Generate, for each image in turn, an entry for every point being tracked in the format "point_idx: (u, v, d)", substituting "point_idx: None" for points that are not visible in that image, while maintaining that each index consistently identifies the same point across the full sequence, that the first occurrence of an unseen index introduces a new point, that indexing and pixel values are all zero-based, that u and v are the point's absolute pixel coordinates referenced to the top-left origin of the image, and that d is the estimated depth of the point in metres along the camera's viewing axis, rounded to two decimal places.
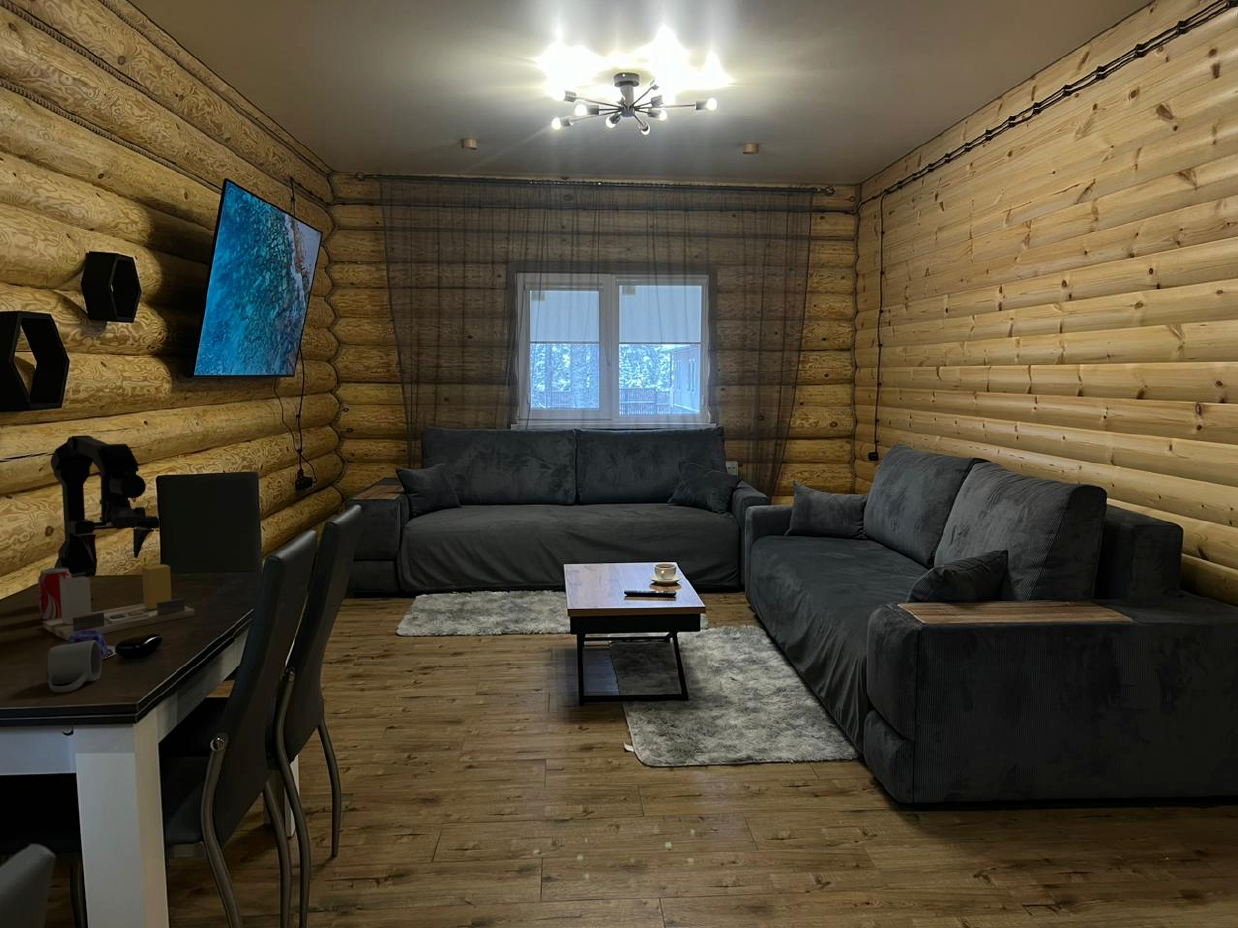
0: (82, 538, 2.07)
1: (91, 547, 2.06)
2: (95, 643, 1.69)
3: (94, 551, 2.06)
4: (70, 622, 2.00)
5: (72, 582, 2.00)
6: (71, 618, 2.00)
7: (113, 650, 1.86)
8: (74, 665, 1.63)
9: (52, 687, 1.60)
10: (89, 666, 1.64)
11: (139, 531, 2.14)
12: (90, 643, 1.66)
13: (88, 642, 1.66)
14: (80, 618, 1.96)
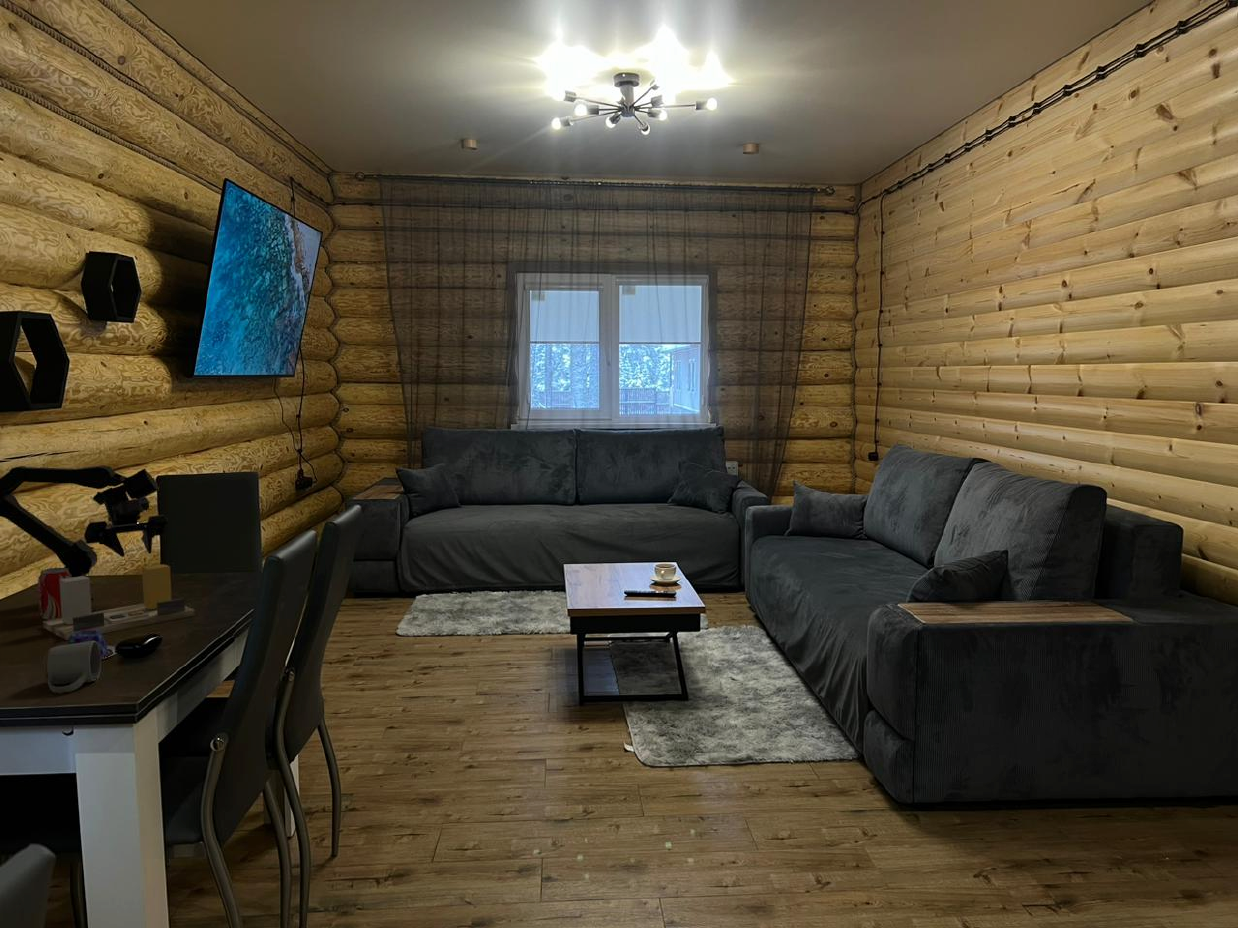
0: (107, 544, 2.23)
1: (116, 542, 2.21)
2: (95, 643, 1.69)
3: (119, 545, 2.21)
4: (70, 622, 2.00)
5: (72, 582, 2.00)
6: (71, 618, 2.00)
7: (113, 650, 1.86)
8: (74, 665, 1.63)
9: (52, 687, 1.60)
10: (89, 667, 1.64)
11: (145, 529, 2.28)
12: (90, 643, 1.66)
13: (88, 643, 1.66)
14: (80, 618, 1.96)
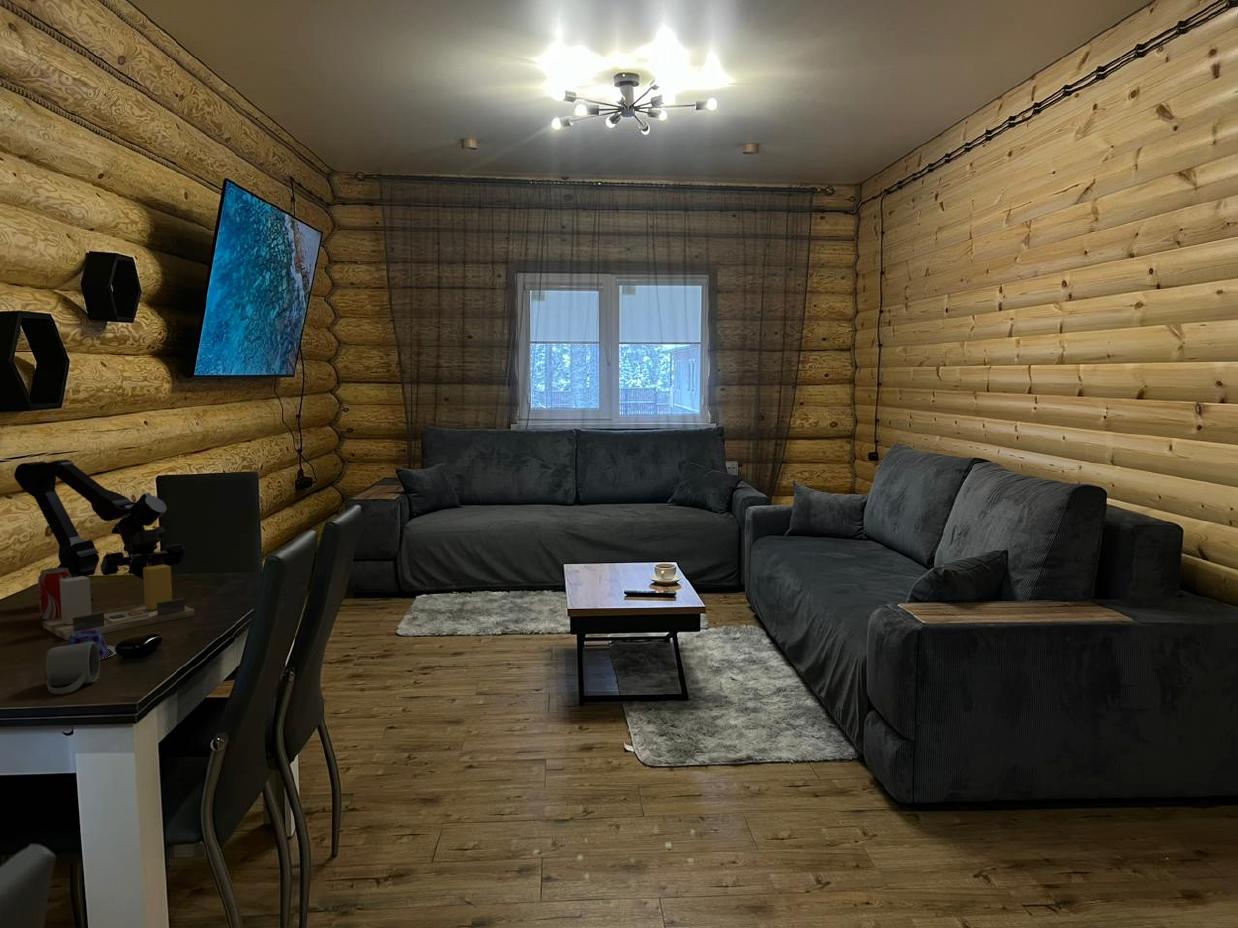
0: (136, 573, 2.19)
1: None
2: (94, 644, 1.68)
3: None
4: (70, 622, 2.00)
5: (72, 582, 2.00)
6: (71, 618, 2.00)
7: (113, 650, 1.86)
8: (72, 666, 1.62)
9: (50, 689, 1.59)
10: (88, 668, 1.63)
11: (150, 561, 2.20)
12: (89, 644, 1.65)
13: (87, 643, 1.66)
14: (80, 618, 1.96)
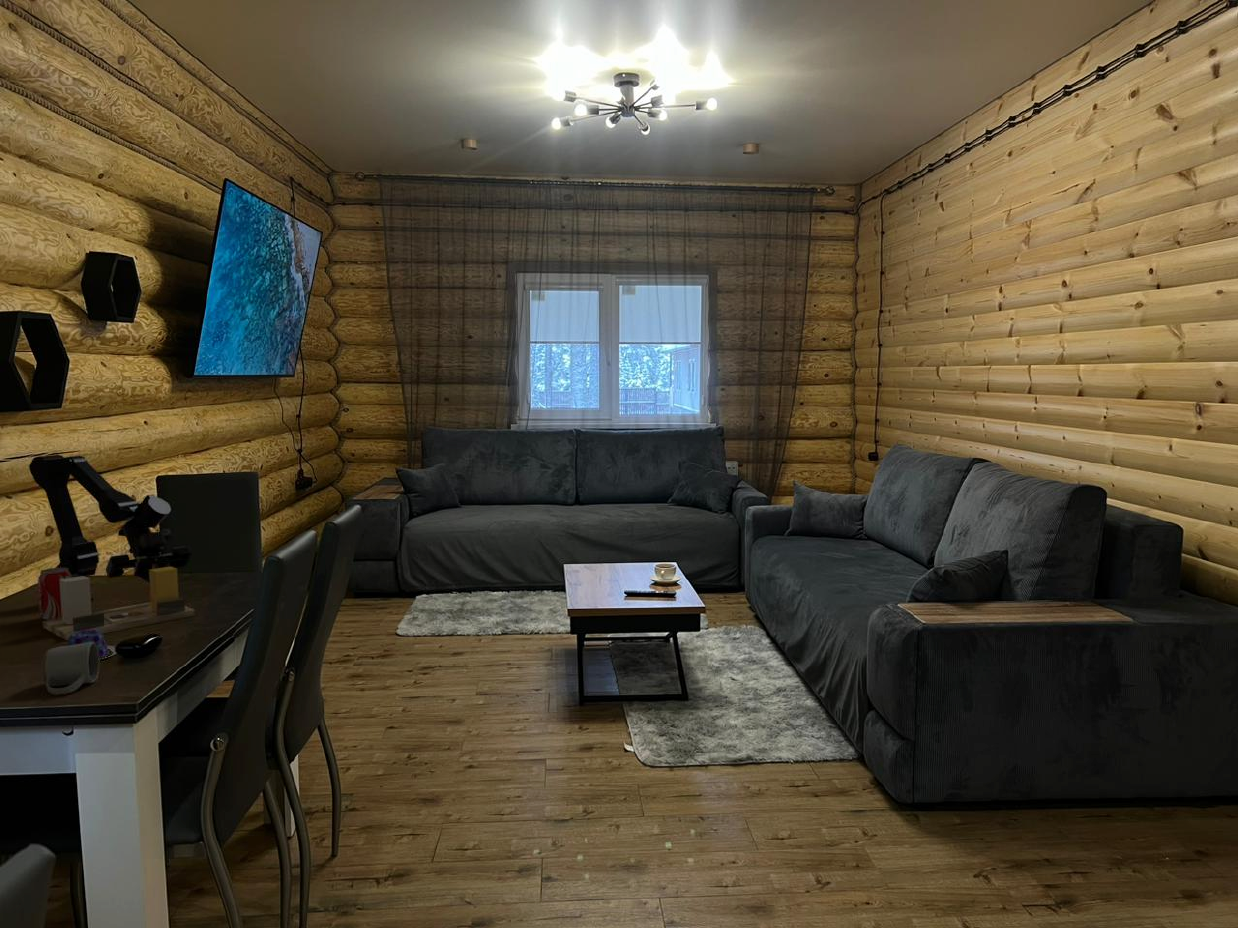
0: (142, 576, 2.17)
1: None
2: (93, 645, 1.68)
3: None
4: (70, 622, 2.00)
5: (72, 582, 2.00)
6: (71, 618, 2.00)
7: (113, 650, 1.86)
8: (72, 667, 1.62)
9: (50, 689, 1.59)
10: (87, 668, 1.63)
11: (156, 564, 2.18)
12: (88, 645, 1.65)
13: (86, 644, 1.65)
14: (80, 618, 1.96)
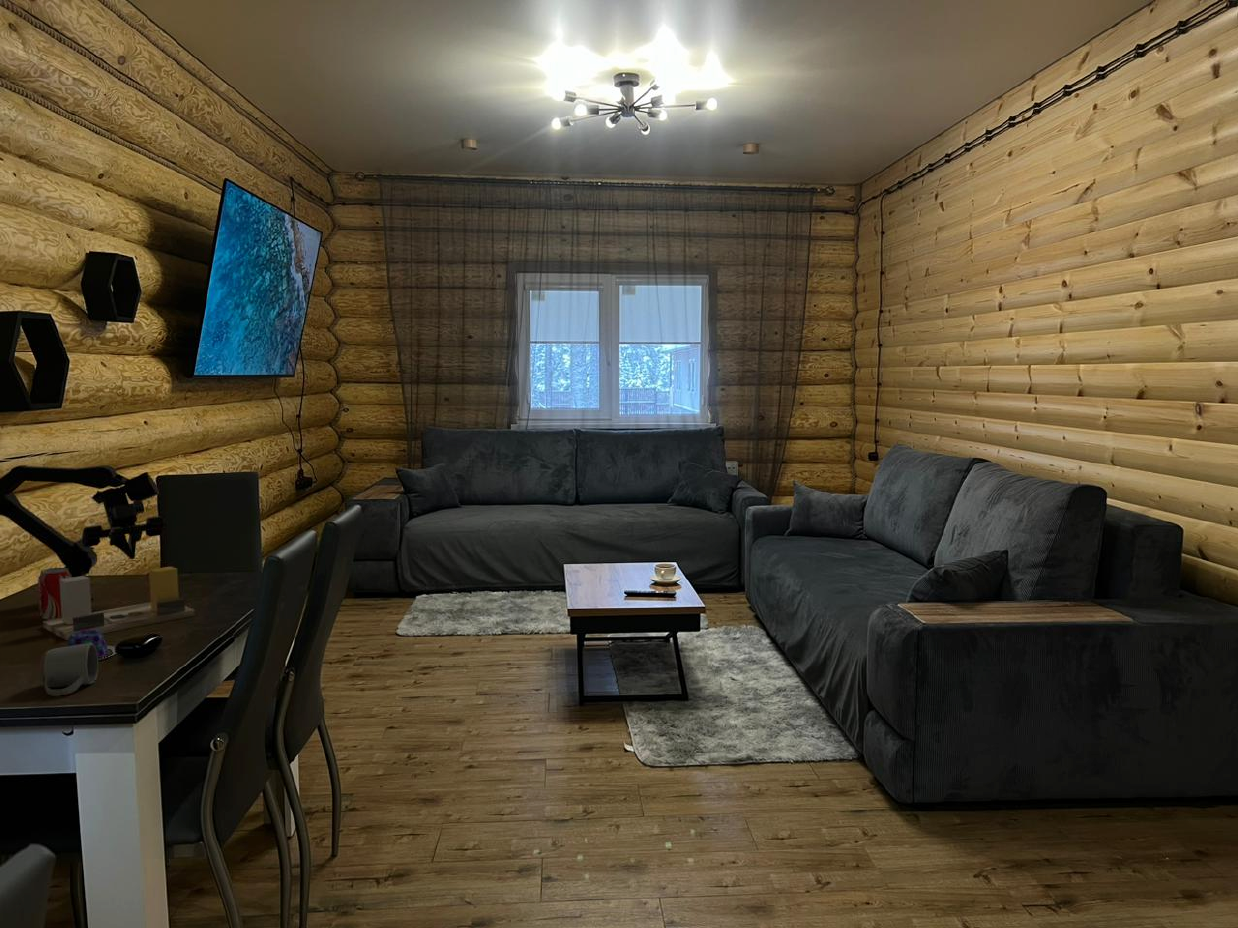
0: (117, 545, 2.26)
1: (124, 544, 2.23)
2: (92, 646, 1.67)
3: (128, 547, 2.24)
4: (70, 622, 2.00)
5: (72, 582, 2.00)
6: (71, 618, 2.00)
7: (113, 650, 1.86)
8: (71, 668, 1.62)
9: (48, 690, 1.58)
10: (86, 670, 1.62)
11: (129, 534, 2.26)
12: (87, 646, 1.64)
13: (85, 645, 1.65)
14: (80, 618, 1.96)
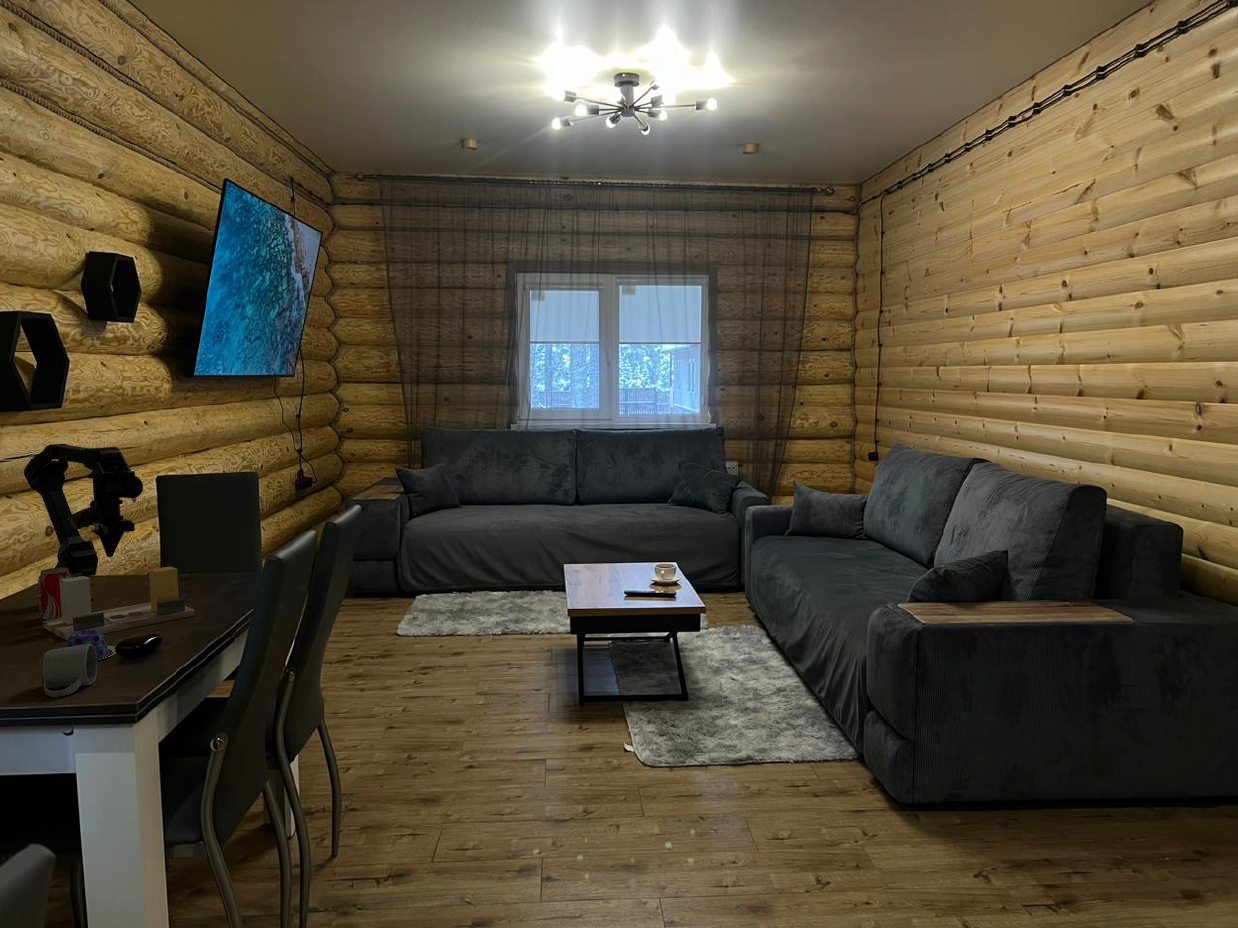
0: None
1: (102, 542, 2.22)
2: (91, 647, 1.67)
3: (104, 546, 2.22)
4: (70, 622, 2.00)
5: (72, 582, 2.00)
6: (71, 618, 2.00)
7: (113, 650, 1.86)
8: (69, 669, 1.61)
9: (47, 691, 1.58)
10: (85, 670, 1.62)
11: None
12: (86, 647, 1.64)
13: (84, 646, 1.64)
14: (80, 618, 1.96)
